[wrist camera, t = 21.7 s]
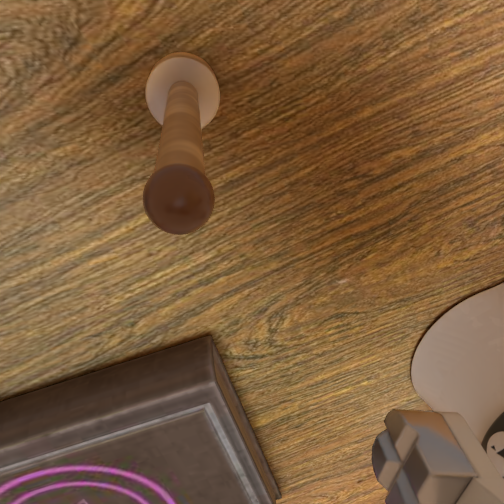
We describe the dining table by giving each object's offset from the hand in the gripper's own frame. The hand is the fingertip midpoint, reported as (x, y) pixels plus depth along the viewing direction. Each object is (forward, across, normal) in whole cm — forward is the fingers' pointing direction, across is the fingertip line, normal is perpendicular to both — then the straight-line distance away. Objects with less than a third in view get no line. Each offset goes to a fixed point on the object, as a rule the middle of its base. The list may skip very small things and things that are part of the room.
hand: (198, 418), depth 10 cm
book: (+22, +5, +32) cm, 39 cm away
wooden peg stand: (+22, +1, -2) cm, 22 cm away
